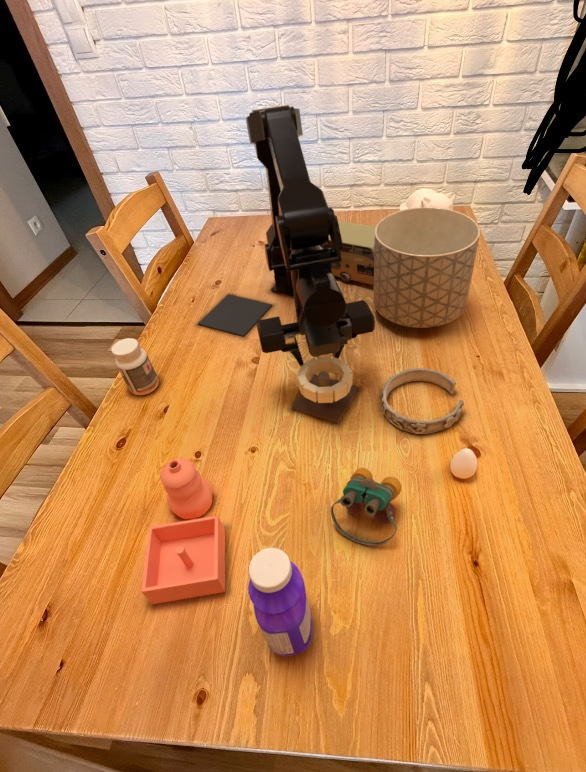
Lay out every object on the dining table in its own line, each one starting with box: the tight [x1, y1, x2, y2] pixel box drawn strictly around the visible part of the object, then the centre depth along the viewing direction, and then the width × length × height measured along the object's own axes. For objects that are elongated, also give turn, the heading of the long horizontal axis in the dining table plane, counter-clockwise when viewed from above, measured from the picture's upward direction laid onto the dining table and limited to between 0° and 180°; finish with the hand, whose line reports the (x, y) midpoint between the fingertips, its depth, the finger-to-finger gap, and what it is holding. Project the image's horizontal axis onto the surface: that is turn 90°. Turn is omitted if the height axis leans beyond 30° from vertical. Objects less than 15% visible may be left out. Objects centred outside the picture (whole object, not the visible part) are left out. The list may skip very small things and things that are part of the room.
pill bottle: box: [111, 337, 160, 396], centre depth 85 cm, size 6×6×10 cm
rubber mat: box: [197, 294, 273, 337], centre depth 102 cm, size 12×12×1 cm
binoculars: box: [330, 467, 402, 547], centre depth 62 cm, size 9×9×10 cm
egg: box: [449, 447, 478, 480], centre depth 68 cm, size 4×4×6 cm
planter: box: [373, 207, 481, 329], centre depth 91 cm, size 19×19×18 cm
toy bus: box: [319, 220, 376, 286], centre depth 108 cm, size 10×23×10 cm, turn 58°
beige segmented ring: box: [296, 355, 353, 403], centre depth 78 cm, size 9×9×2 cm
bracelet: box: [381, 367, 465, 435], centre depth 79 cm, size 14×14×3 cm
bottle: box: [247, 547, 314, 657], centre depth 50 cm, size 7×6×17 cm
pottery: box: [141, 457, 226, 605], centre depth 63 cm, size 18×10×10 cm, turn 8°
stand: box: [291, 371, 360, 425], centre depth 80 cm, size 9×9×6 cm
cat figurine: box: [399, 187, 456, 211], centre depth 109 cm, size 25×10×17 cm, turn 8°
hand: (319, 364), depth 81 cm, fingers closed on beige segmented ring, 5 cm apart
